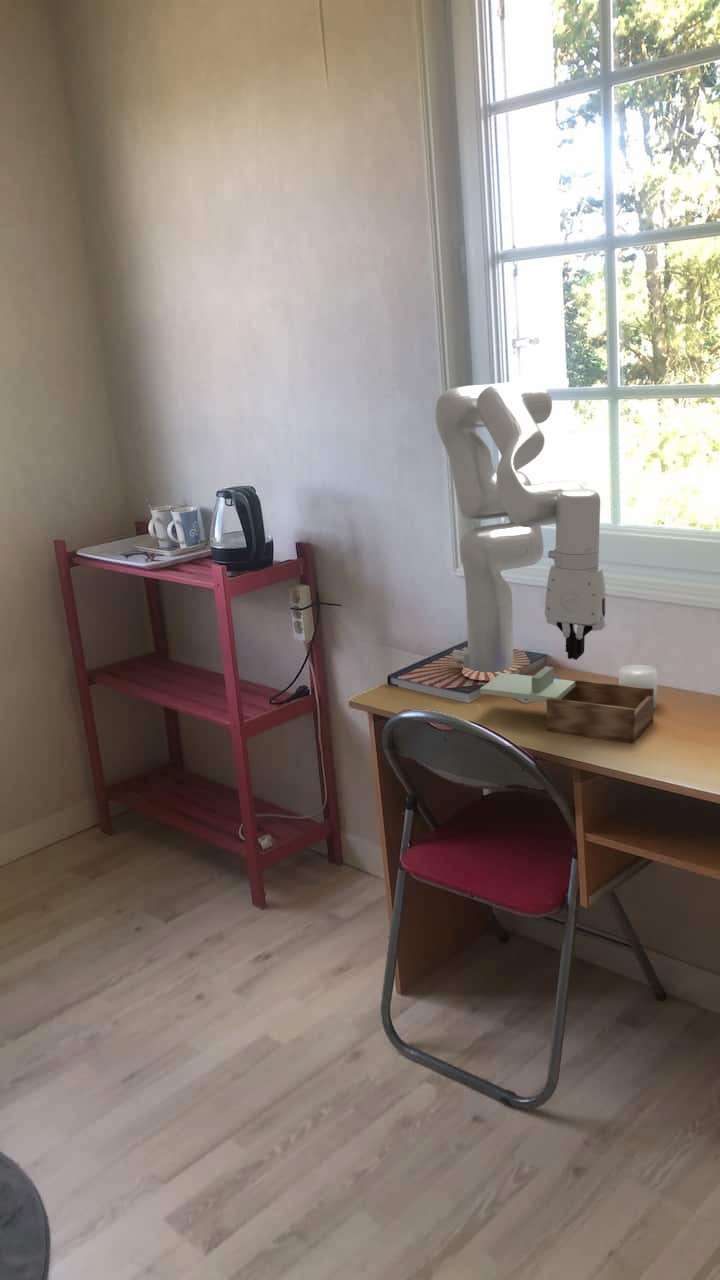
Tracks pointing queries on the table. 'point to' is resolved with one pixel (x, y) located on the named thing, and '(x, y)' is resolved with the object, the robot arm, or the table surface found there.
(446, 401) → the robot arm
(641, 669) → the white round canister
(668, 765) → the table surface
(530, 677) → the lid
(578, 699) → the walnut box
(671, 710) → the table surface
